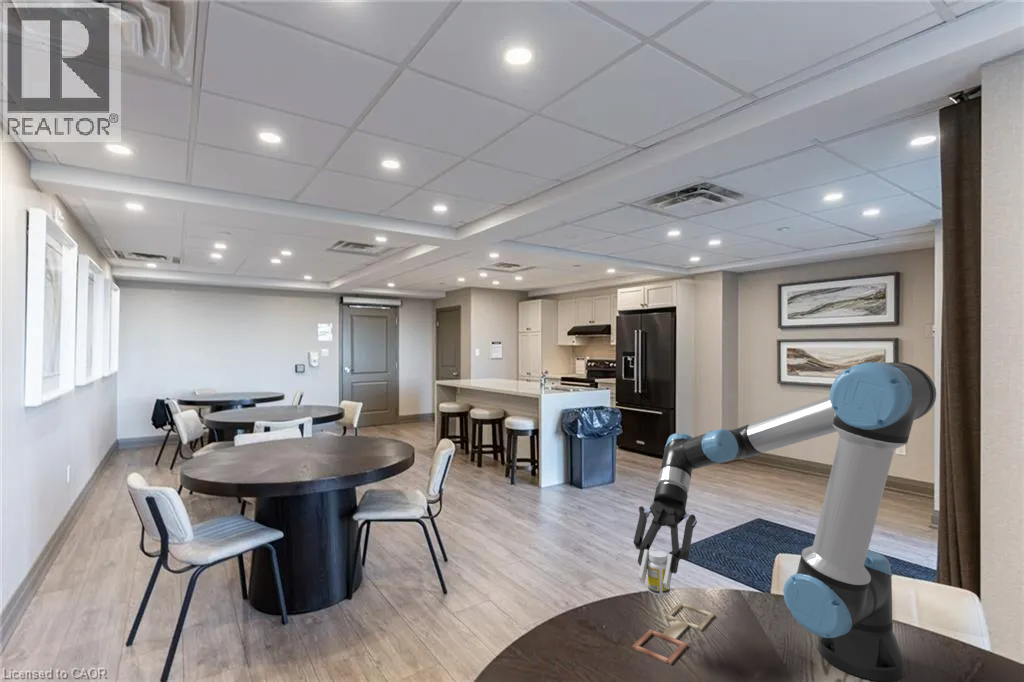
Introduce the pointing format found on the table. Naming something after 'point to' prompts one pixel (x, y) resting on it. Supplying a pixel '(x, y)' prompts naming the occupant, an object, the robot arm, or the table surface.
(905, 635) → the table surface
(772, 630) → the table surface
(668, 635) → the linked wooden frames
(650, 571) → the supplement bottle
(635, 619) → the table surface
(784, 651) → the table surface
